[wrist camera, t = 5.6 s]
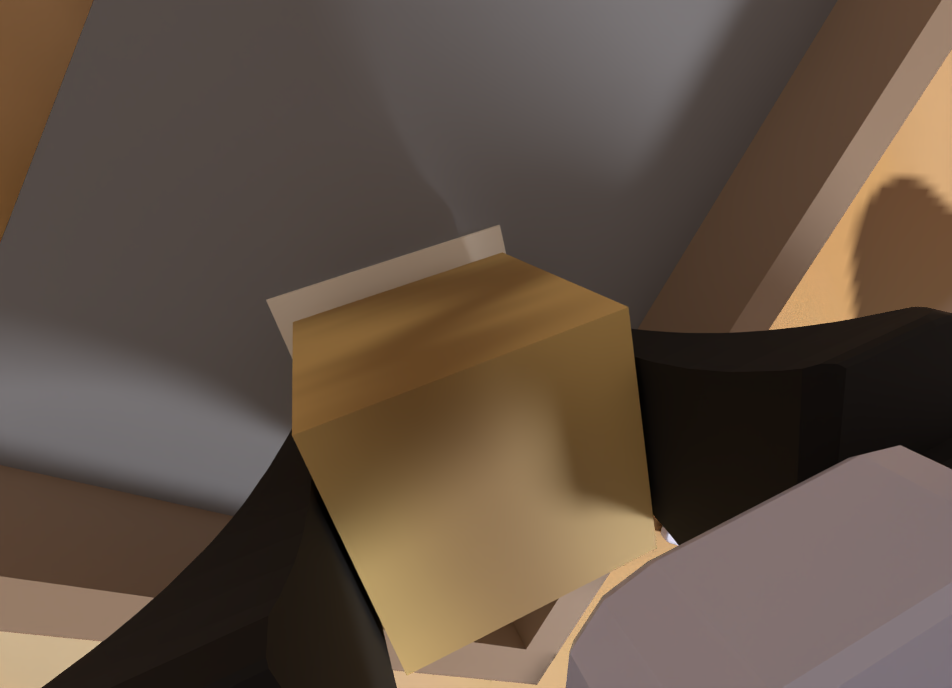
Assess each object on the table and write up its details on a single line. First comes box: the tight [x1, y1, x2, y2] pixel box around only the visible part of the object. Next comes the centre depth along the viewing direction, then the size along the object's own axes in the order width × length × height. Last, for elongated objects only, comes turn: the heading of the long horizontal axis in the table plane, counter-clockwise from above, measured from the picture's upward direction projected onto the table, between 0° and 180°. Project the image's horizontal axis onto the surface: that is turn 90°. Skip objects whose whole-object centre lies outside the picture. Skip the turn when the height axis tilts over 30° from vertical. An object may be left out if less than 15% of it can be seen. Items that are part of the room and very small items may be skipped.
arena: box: [0, 0, 952, 685], centre depth 11 cm, size 16×24×4 cm, turn 149°
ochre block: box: [292, 252, 657, 675], centre depth 10 cm, size 5×5×5 cm
